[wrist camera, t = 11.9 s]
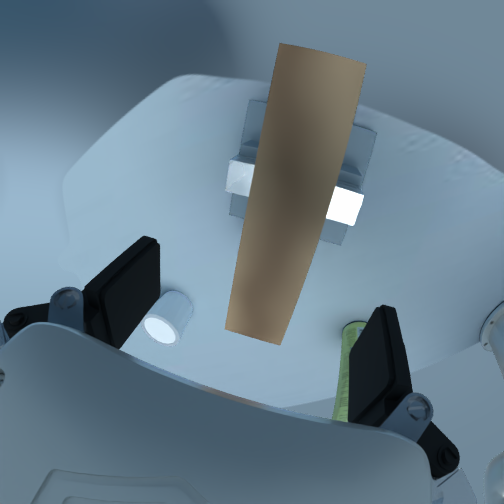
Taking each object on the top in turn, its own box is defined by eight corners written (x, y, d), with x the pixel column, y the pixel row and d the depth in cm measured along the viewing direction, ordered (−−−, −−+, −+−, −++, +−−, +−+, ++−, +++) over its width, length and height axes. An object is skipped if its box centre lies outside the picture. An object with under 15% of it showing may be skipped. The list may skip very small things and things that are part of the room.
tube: (353, 348, 42) (351, 458, 25) (332, 334, 42) (323, 449, 25) (379, 330, 39) (389, 444, 23) (358, 314, 39) (362, 435, 22)
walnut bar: (352, 77, 18) (366, 64, 12) (290, 296, 29) (280, 345, 23) (291, 62, 18) (279, 43, 12) (244, 283, 30) (224, 329, 24)
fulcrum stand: (374, 131, 27) (392, 139, 19) (340, 240, 34) (343, 278, 27) (252, 100, 28) (229, 97, 21) (232, 210, 35) (208, 240, 28)
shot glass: (191, 325, 48) (174, 353, 42) (157, 307, 48) (138, 332, 42) (201, 300, 44) (183, 329, 38) (164, 280, 44) (142, 306, 38)
